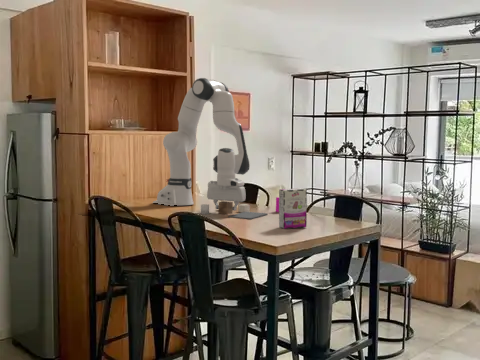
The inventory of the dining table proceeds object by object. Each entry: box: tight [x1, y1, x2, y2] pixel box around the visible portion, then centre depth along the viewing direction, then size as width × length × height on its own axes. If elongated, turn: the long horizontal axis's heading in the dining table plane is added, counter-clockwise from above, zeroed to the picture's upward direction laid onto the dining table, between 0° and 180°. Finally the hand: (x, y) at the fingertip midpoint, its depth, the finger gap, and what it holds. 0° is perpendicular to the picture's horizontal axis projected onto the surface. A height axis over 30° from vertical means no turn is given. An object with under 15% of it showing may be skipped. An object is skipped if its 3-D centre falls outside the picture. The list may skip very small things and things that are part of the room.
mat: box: [227, 211, 268, 221], centre depth 260 cm, size 12×18×1 cm, turn 152°
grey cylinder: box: [200, 203, 210, 215], centre depth 264 cm, size 4×4×5 cm
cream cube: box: [238, 203, 251, 213], centre depth 274 cm, size 4×4×4 cm
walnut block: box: [218, 200, 234, 215], centre depth 267 cm, size 5×5×6 cm
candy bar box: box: [278, 187, 308, 230], centre depth 231 cm, size 11×5×16 cm, turn 114°
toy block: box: [275, 196, 279, 213], centre depth 279 cm, size 15×6×8 cm, turn 124°
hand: (225, 209), depth 267 cm, fingers open, 8 cm apart
